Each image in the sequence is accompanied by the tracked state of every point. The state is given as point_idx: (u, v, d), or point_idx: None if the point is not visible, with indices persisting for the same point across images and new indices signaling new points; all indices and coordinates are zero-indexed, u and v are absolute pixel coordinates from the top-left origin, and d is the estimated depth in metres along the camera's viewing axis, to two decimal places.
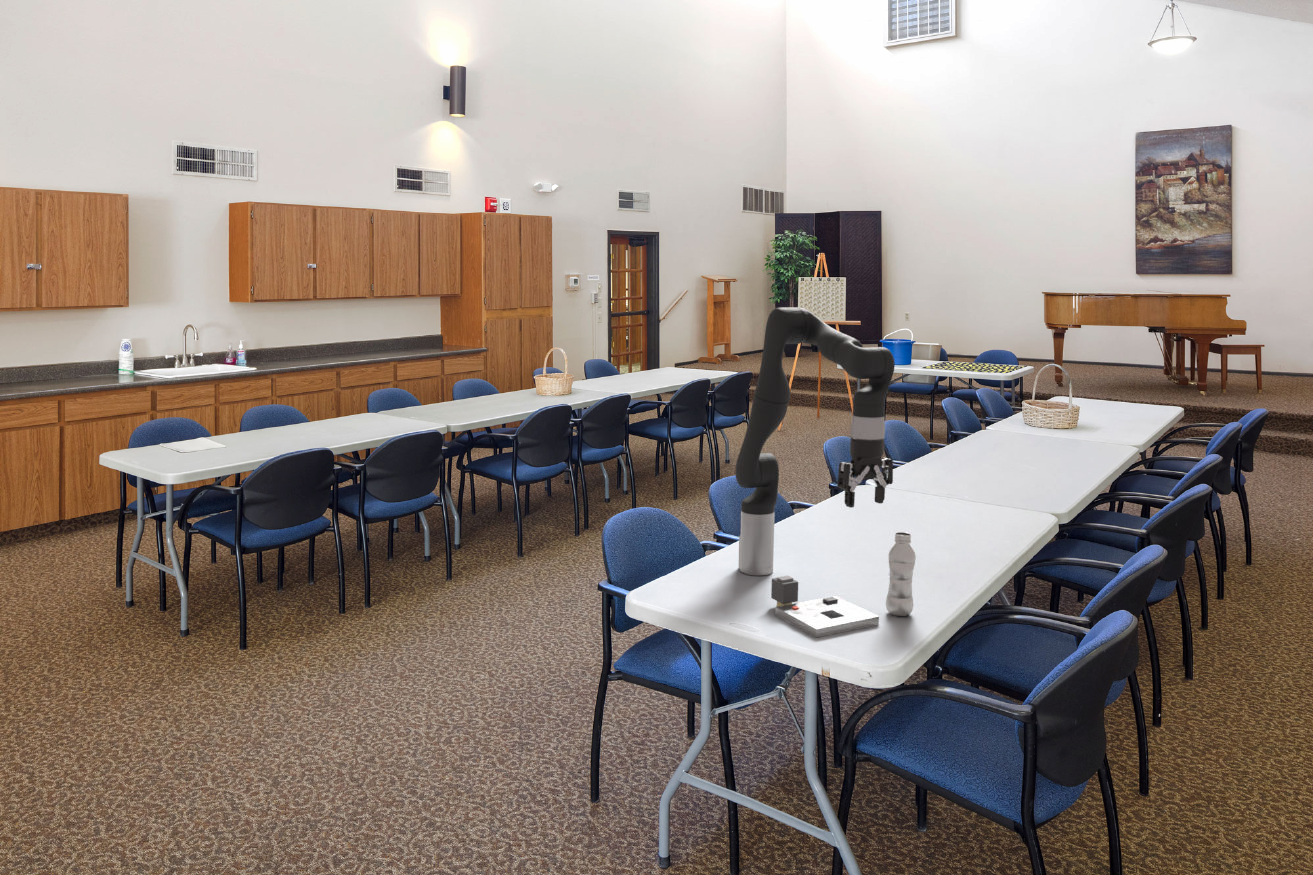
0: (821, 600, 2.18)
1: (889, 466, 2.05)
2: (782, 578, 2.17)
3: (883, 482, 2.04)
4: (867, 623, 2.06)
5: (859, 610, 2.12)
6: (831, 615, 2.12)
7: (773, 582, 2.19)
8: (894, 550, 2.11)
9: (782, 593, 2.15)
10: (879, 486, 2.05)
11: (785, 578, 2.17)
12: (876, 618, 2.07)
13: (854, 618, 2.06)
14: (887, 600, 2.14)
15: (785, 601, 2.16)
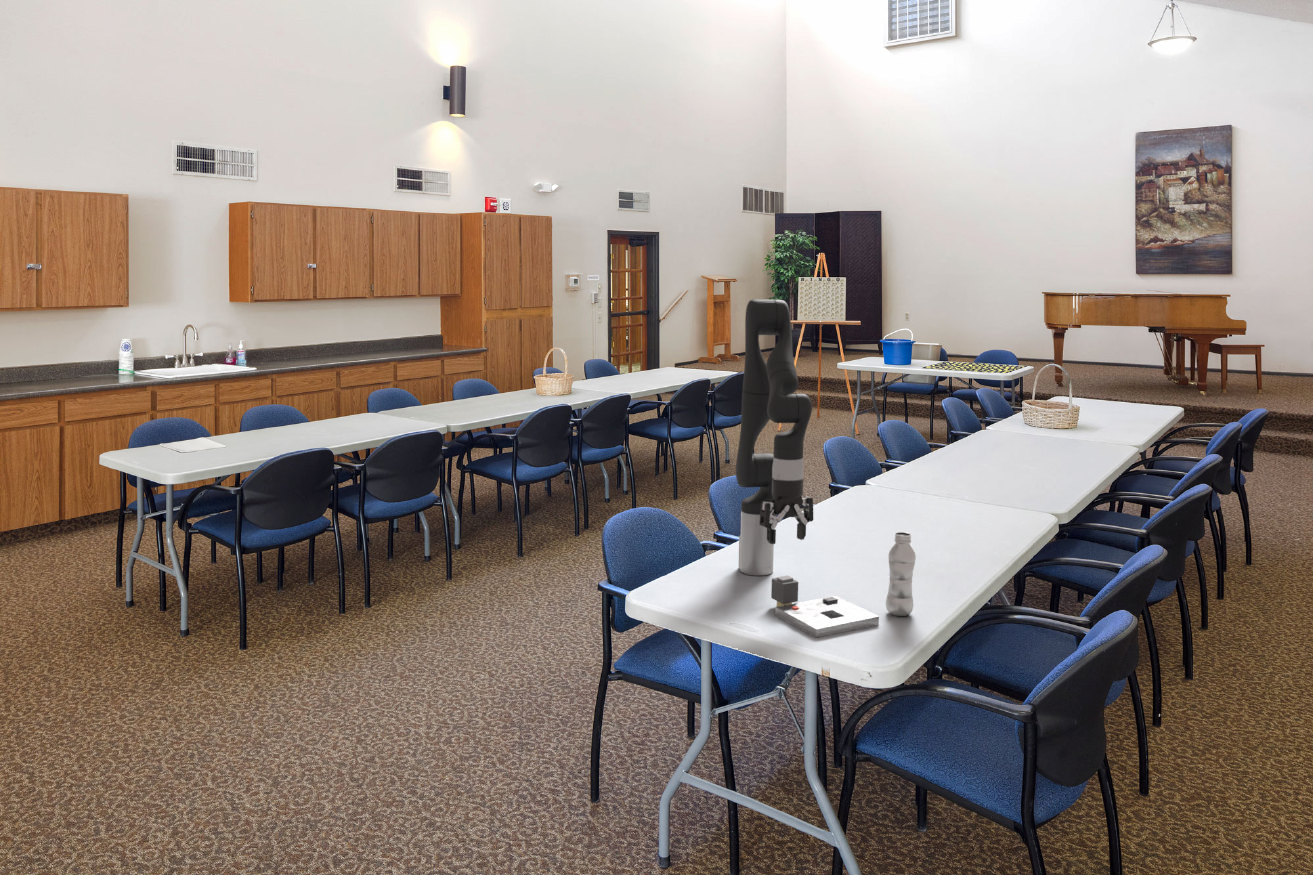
0: (821, 600, 2.18)
1: (809, 504, 2.17)
2: (782, 578, 2.17)
3: (804, 520, 2.17)
4: (867, 623, 2.06)
5: (859, 610, 2.12)
6: (831, 615, 2.12)
7: (773, 582, 2.19)
8: (894, 550, 2.11)
9: (782, 593, 2.15)
10: (800, 523, 2.17)
11: (785, 578, 2.17)
12: (876, 618, 2.07)
13: (854, 618, 2.06)
14: (887, 600, 2.14)
15: (785, 601, 2.16)
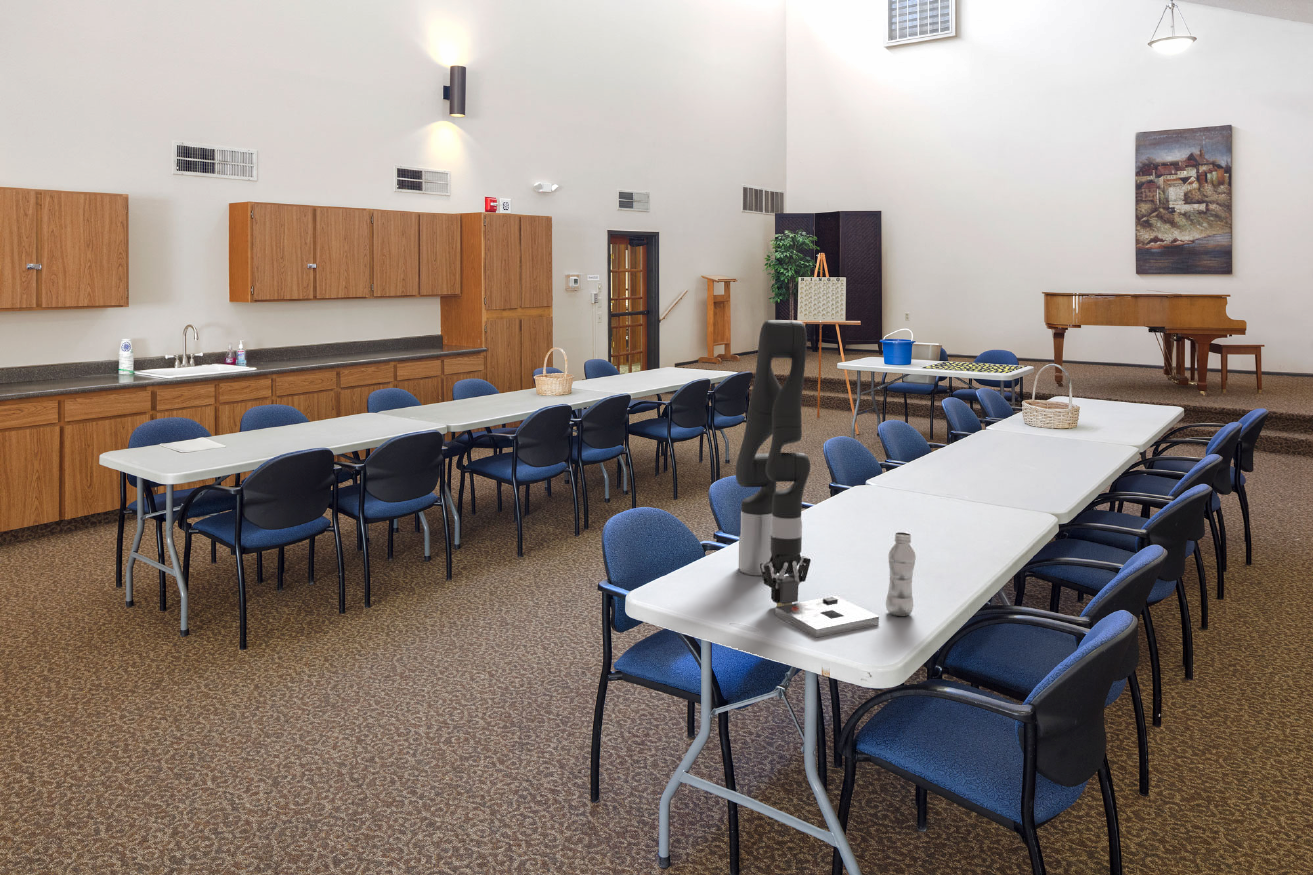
0: (821, 600, 2.18)
1: (806, 564, 2.19)
2: None
3: (797, 580, 2.18)
4: (867, 623, 2.06)
5: (859, 610, 2.12)
6: (831, 615, 2.12)
7: None
8: (894, 550, 2.11)
9: (782, 593, 2.15)
10: None
11: (785, 578, 2.17)
12: (876, 618, 2.07)
13: (854, 618, 2.06)
14: (887, 600, 2.14)
15: (785, 601, 2.16)
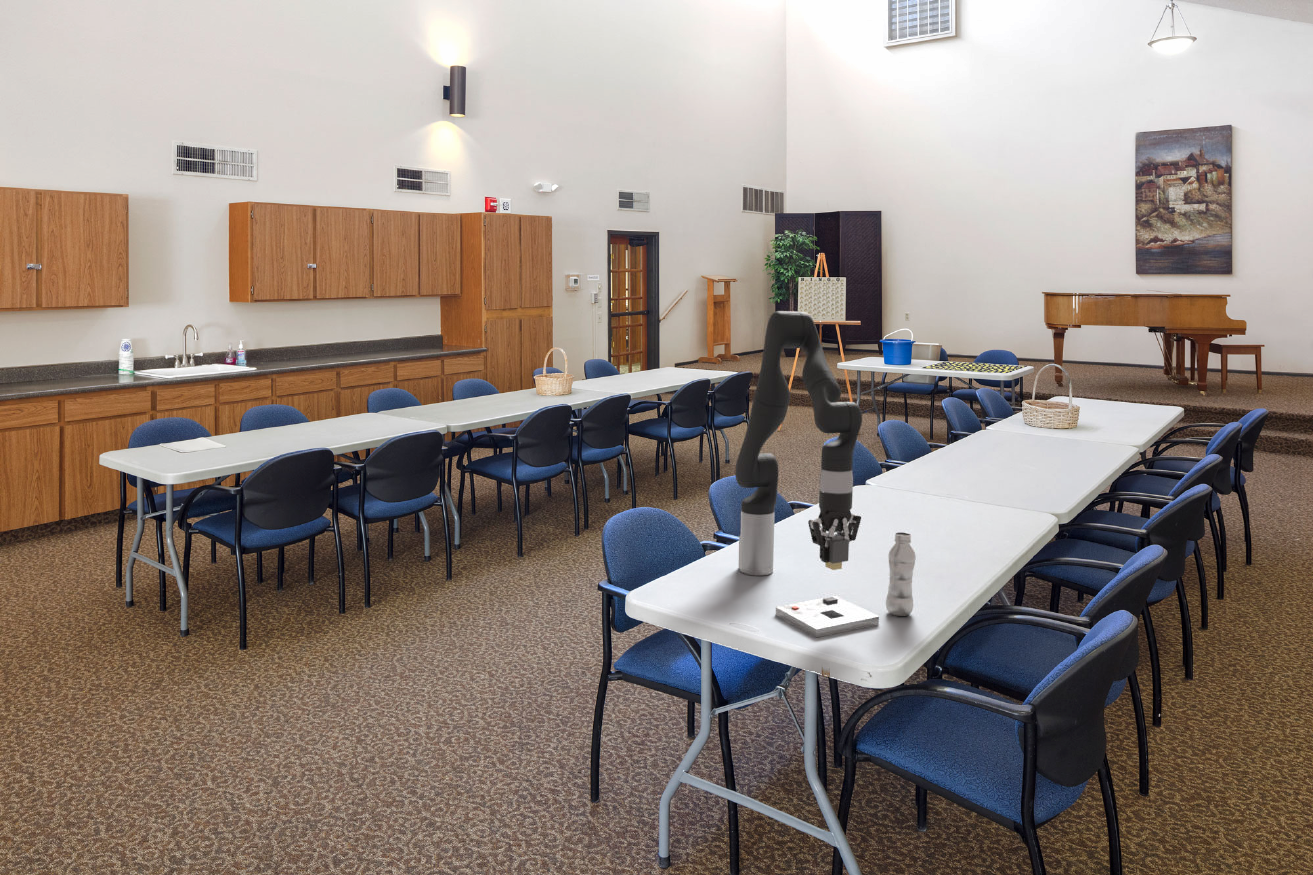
0: (821, 600, 2.18)
1: (856, 522, 2.07)
2: None
3: (847, 538, 2.06)
4: (867, 623, 2.06)
5: (859, 610, 2.12)
6: (831, 615, 2.12)
7: None
8: (894, 550, 2.11)
9: (833, 552, 2.03)
10: None
11: (835, 536, 2.05)
12: (876, 618, 2.07)
13: (854, 618, 2.06)
14: (887, 600, 2.14)
15: (835, 560, 2.04)
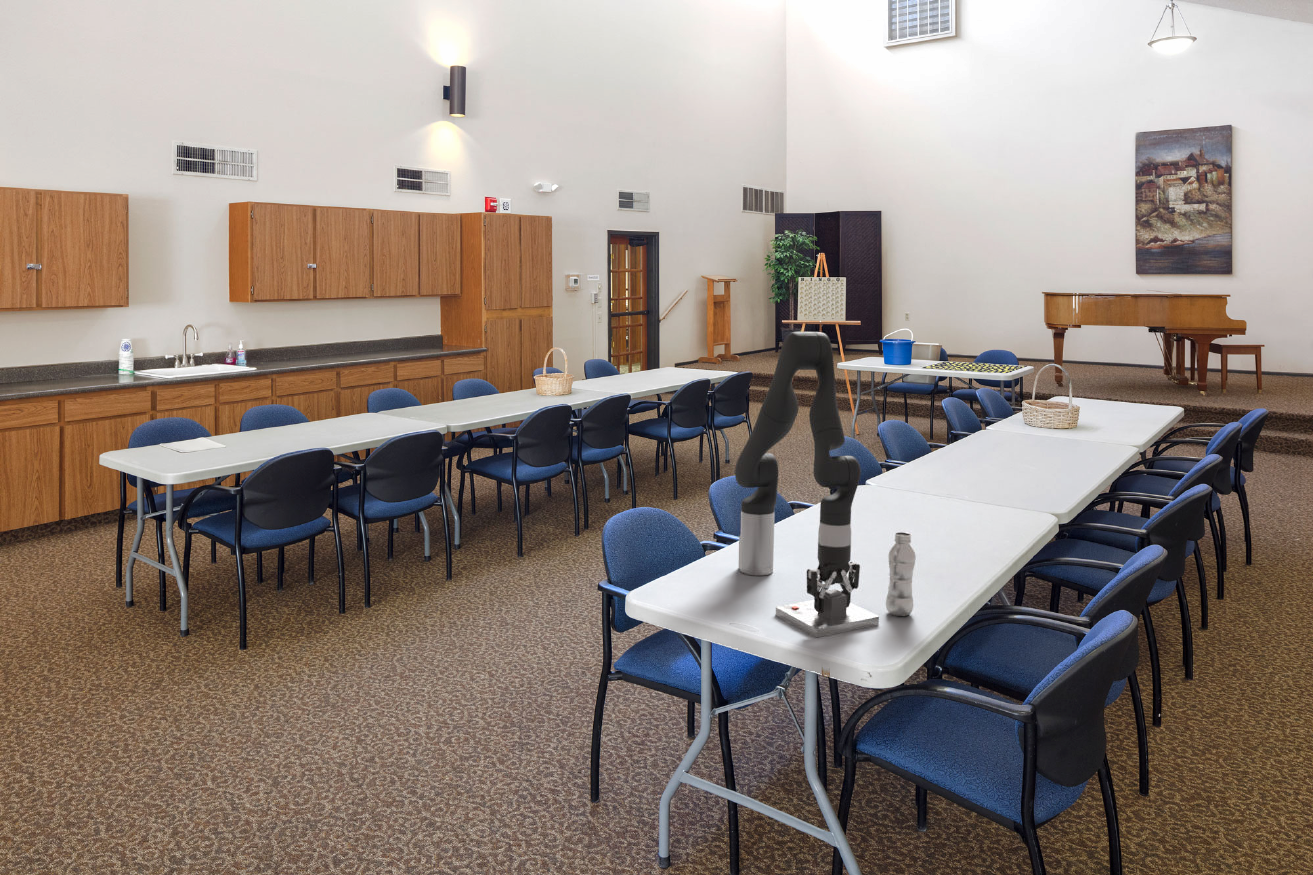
0: None
1: (856, 571, 2.09)
2: (830, 592, 2.07)
3: (849, 587, 2.08)
4: (867, 623, 2.06)
5: (859, 610, 2.12)
6: None
7: None
8: (894, 550, 2.11)
9: (831, 607, 2.05)
10: (845, 591, 2.09)
11: (833, 592, 2.07)
12: (876, 618, 2.07)
13: (854, 618, 2.06)
14: (887, 600, 2.14)
15: (833, 616, 2.06)
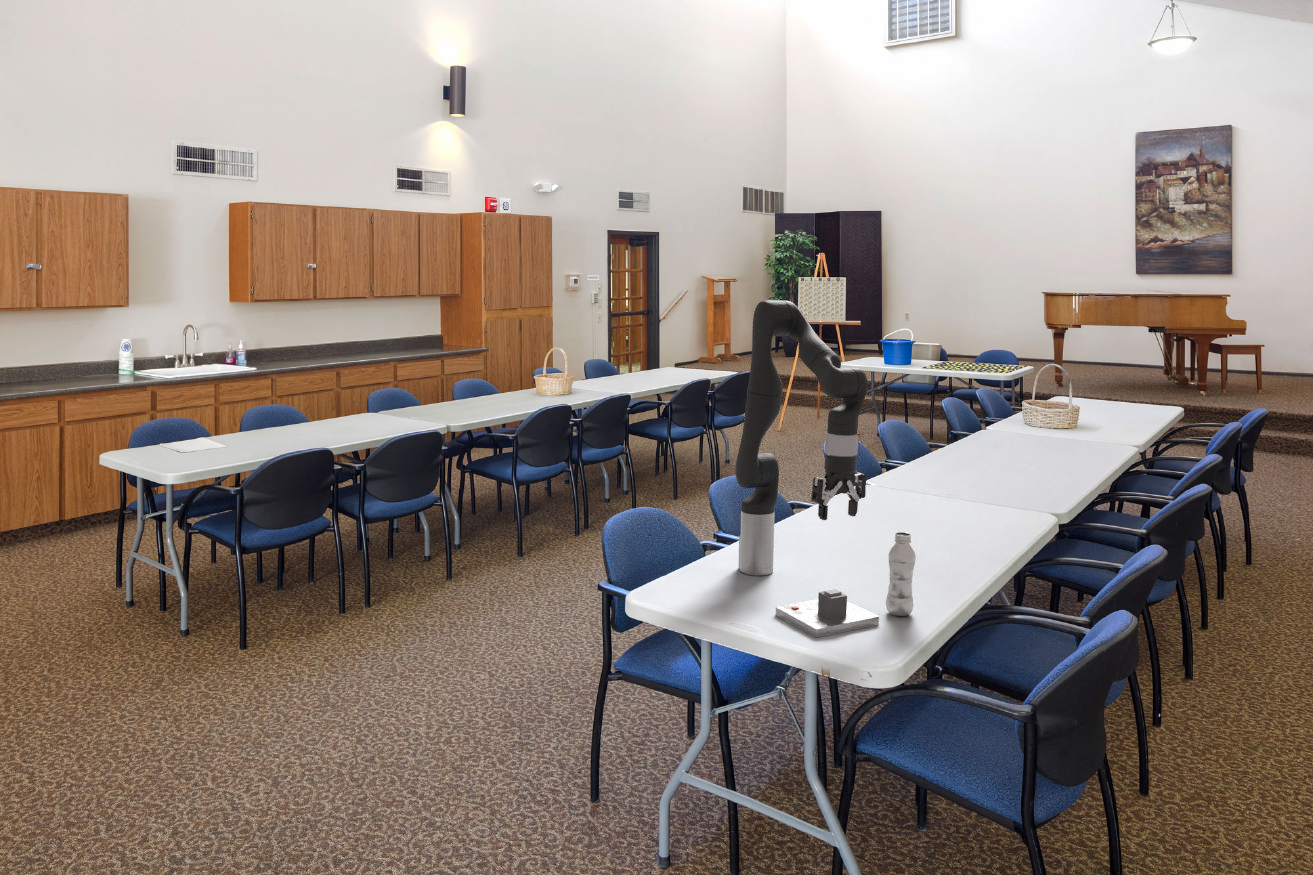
0: None
1: (862, 481, 2.14)
2: (830, 592, 2.07)
3: (856, 496, 2.14)
4: (867, 623, 2.06)
5: (859, 610, 2.12)
6: None
7: (820, 596, 2.09)
8: (894, 550, 2.11)
9: (831, 607, 2.05)
10: (852, 500, 2.15)
11: (833, 592, 2.07)
12: (876, 618, 2.07)
13: (854, 618, 2.06)
14: (887, 600, 2.14)
15: (833, 616, 2.06)
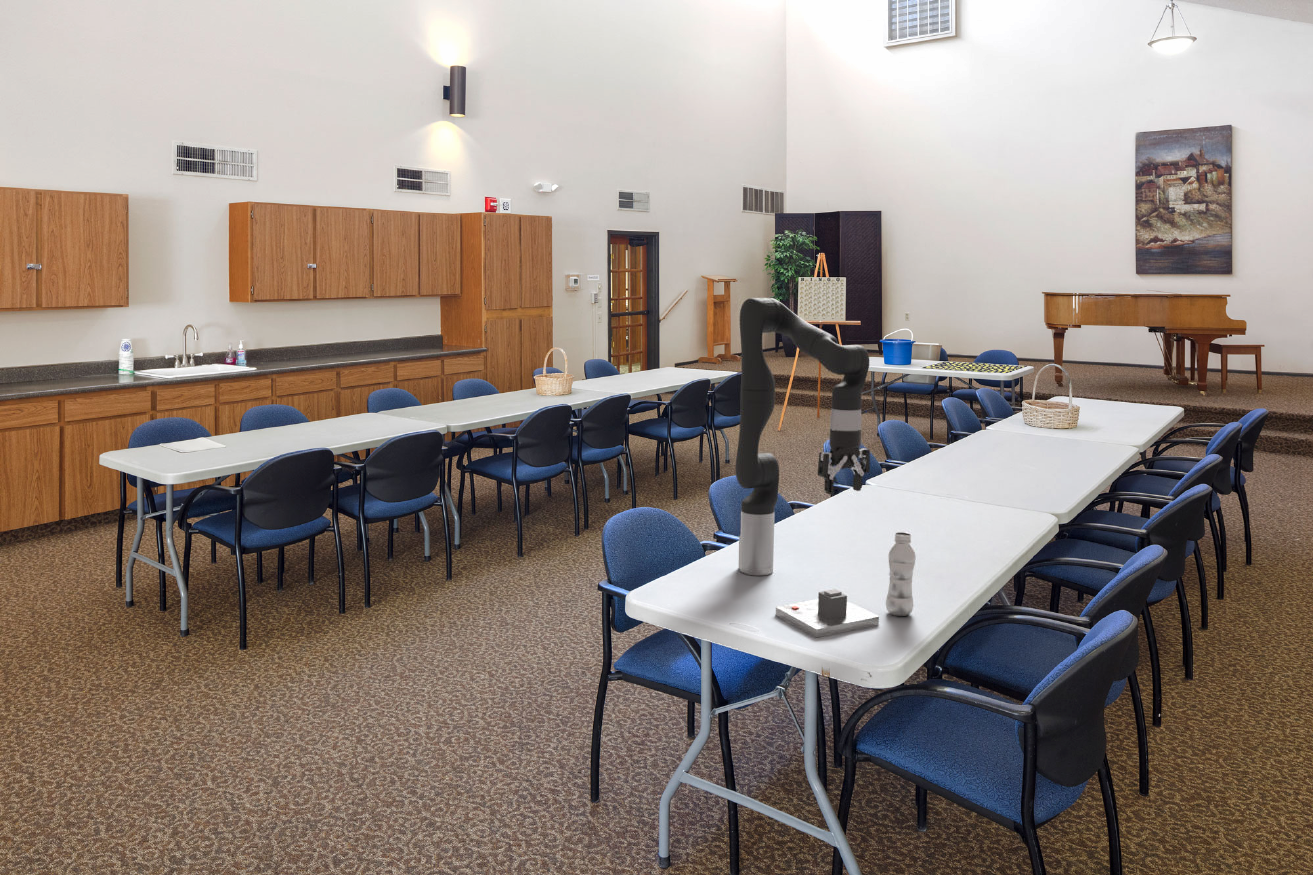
0: None
1: (866, 456, 2.19)
2: (830, 592, 2.07)
3: (860, 471, 2.19)
4: (867, 623, 2.06)
5: (859, 610, 2.12)
6: None
7: (820, 596, 2.09)
8: (894, 550, 2.11)
9: (831, 607, 2.05)
10: (857, 475, 2.20)
11: (833, 592, 2.07)
12: (876, 618, 2.07)
13: (854, 618, 2.06)
14: (887, 600, 2.14)
15: (833, 616, 2.06)
